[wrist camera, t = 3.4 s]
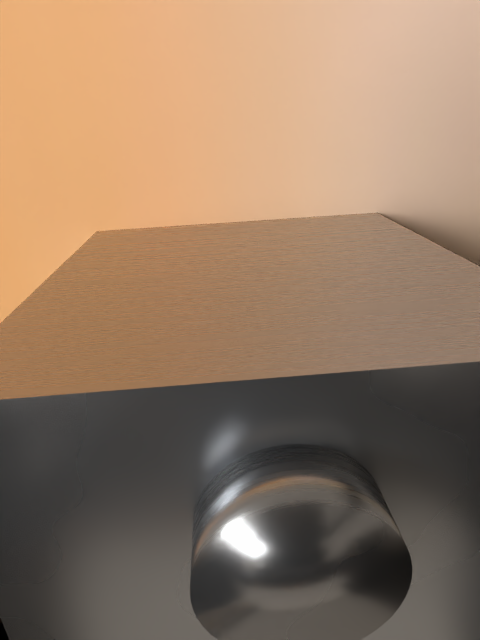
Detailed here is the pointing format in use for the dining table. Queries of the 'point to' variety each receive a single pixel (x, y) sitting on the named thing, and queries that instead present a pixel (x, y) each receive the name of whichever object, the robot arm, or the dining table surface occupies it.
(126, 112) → the dining table surface
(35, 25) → the dining table surface
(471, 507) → the block
